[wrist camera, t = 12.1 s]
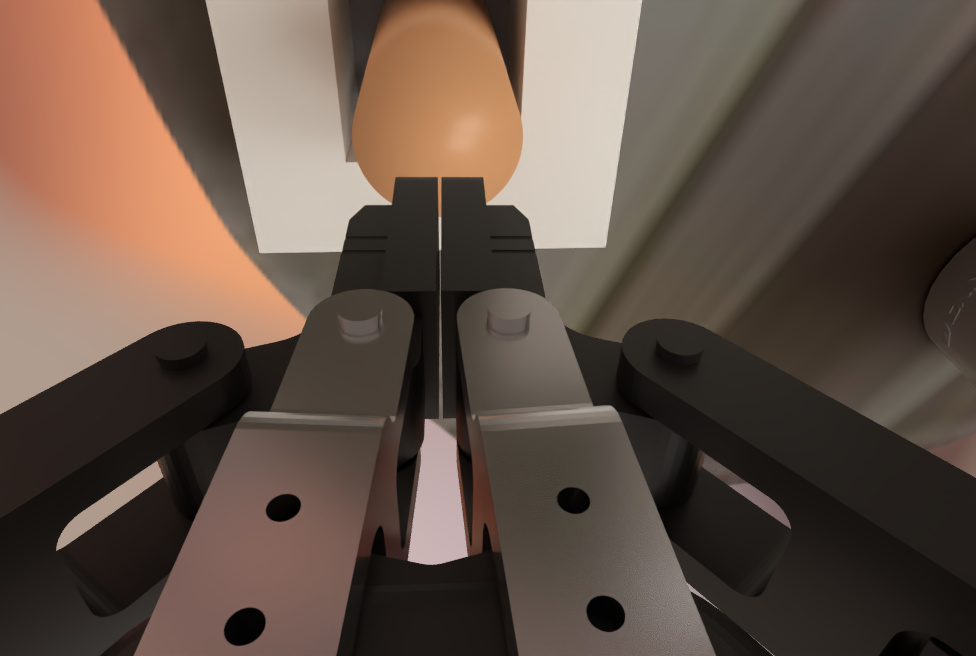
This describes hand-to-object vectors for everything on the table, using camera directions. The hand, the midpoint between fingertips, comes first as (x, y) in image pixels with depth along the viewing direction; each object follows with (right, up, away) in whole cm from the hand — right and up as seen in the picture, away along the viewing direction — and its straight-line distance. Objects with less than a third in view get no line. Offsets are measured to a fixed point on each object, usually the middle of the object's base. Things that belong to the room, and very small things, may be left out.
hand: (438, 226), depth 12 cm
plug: (-1, +9, +12) cm, 15 cm away
